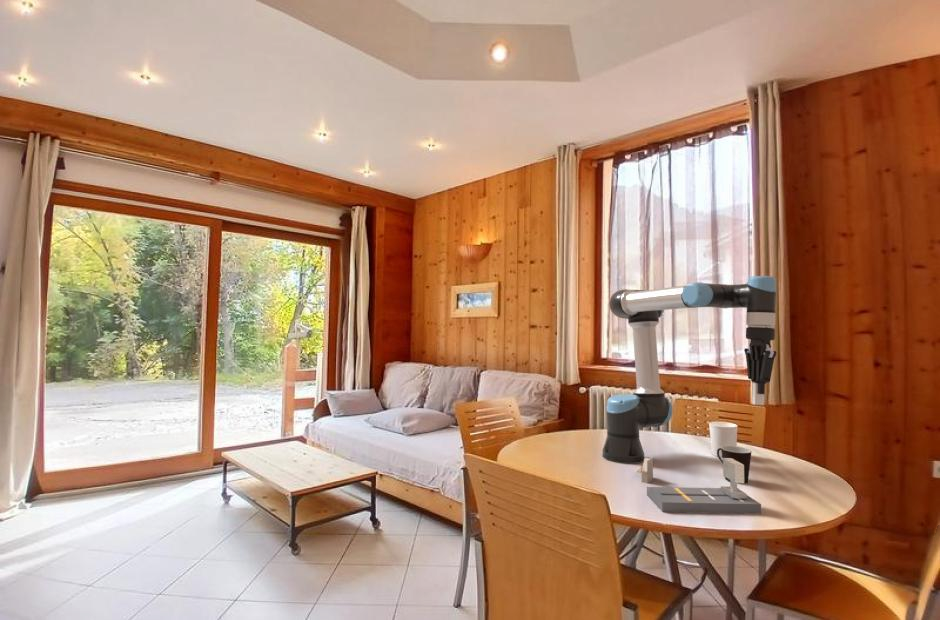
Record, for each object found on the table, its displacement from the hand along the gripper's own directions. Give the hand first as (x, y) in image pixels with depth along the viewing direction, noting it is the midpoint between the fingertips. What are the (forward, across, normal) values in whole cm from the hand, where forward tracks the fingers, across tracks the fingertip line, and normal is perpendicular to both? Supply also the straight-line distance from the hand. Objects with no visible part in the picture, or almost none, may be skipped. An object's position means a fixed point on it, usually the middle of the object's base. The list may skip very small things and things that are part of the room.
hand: (758, 404), depth 140 cm
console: (+27, -11, +21) cm, 36 cm away
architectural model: (+28, +8, +29) cm, 42 cm away
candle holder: (+27, +40, -10) cm, 49 cm away
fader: (+24, -11, +12) cm, 29 cm away
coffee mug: (+27, +12, 0) cm, 29 cm away
